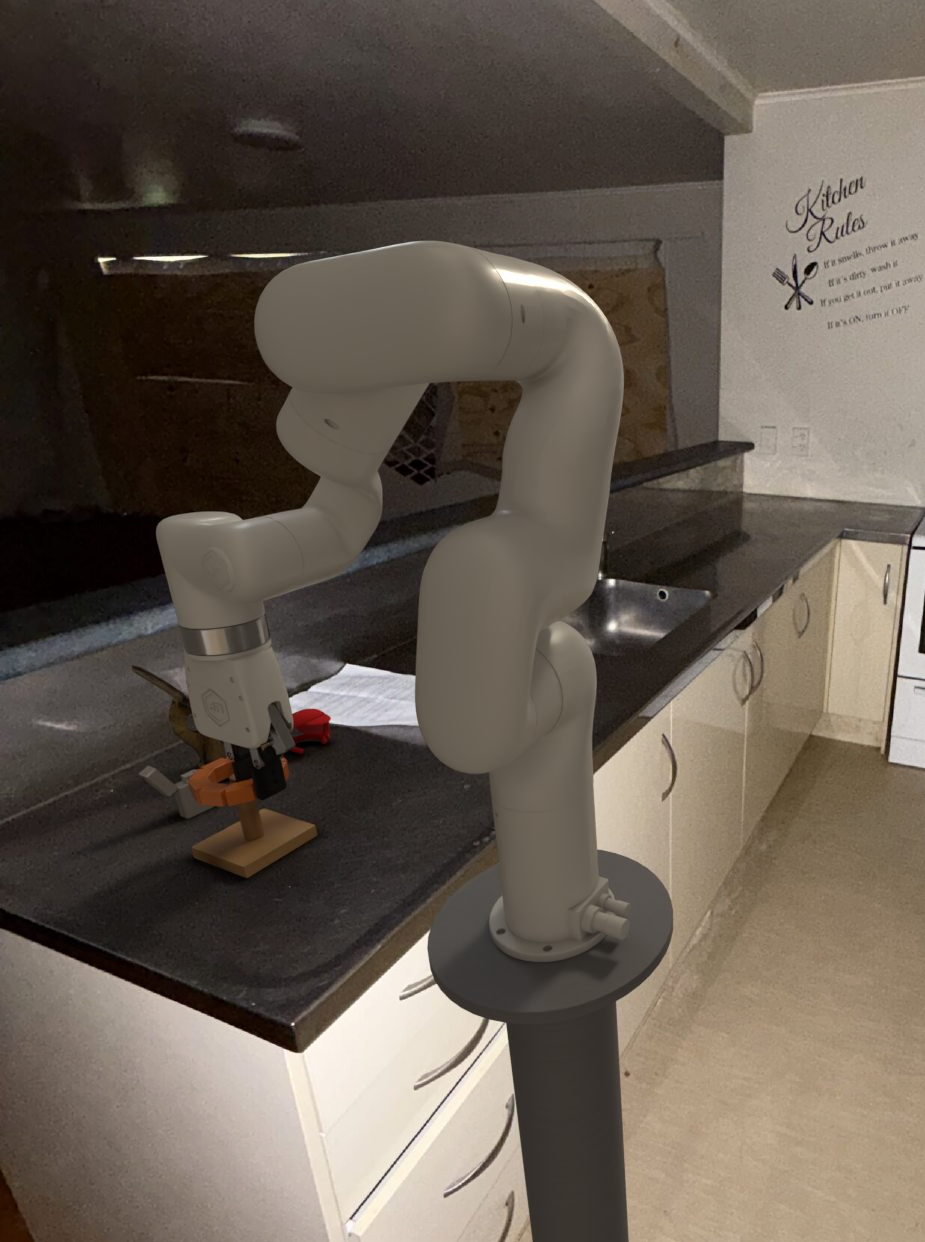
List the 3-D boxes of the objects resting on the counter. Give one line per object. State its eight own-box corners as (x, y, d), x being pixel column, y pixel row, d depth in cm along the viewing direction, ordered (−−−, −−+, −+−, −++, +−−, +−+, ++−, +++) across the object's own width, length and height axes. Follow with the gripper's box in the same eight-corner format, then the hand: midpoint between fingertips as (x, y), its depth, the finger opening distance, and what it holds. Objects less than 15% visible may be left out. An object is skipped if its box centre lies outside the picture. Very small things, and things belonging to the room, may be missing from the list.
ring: (307, 773, 87) (304, 760, 86) (229, 814, 79) (225, 799, 78) (252, 758, 90) (249, 744, 90) (172, 795, 82) (168, 781, 82)
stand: (317, 835, 90) (302, 765, 86) (246, 878, 82) (227, 803, 79) (266, 818, 93) (249, 750, 90) (193, 858, 86) (172, 785, 82)
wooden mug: (151, 783, 101) (113, 658, 95) (253, 744, 112) (226, 630, 105) (183, 802, 97) (146, 673, 90) (287, 759, 107) (260, 641, 101)
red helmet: (271, 757, 108) (262, 719, 106) (291, 738, 113) (284, 702, 111) (327, 757, 108) (320, 719, 106) (345, 738, 114) (338, 702, 112)
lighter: (213, 799, 97) (198, 744, 94) (221, 803, 96) (206, 747, 94) (153, 827, 91) (136, 769, 88) (161, 831, 90) (144, 772, 88)
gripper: (139, 634, 77) (182, 791, 83) (245, 658, 71) (282, 825, 77) (211, 614, 83) (246, 761, 90) (314, 635, 77) (343, 791, 84)
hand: (263, 790), depth 83 cm, fingers closed on ring, 2 cm apart
